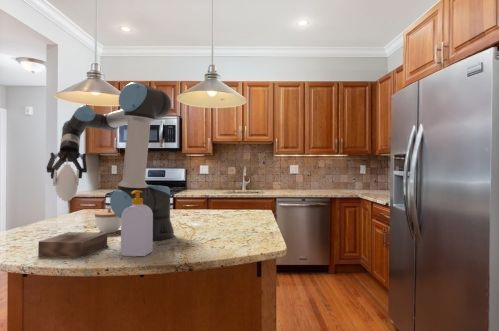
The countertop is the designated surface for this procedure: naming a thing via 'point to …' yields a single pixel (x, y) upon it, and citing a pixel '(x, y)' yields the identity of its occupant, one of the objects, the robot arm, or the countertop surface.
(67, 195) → the grey teardrop shape
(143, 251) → the soap bottle
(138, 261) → the countertop surface
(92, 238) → the walnut stand
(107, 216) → the lidded bowl
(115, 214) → the robot arm
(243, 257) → the countertop surface
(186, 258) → the countertop surface
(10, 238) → the countertop surface
